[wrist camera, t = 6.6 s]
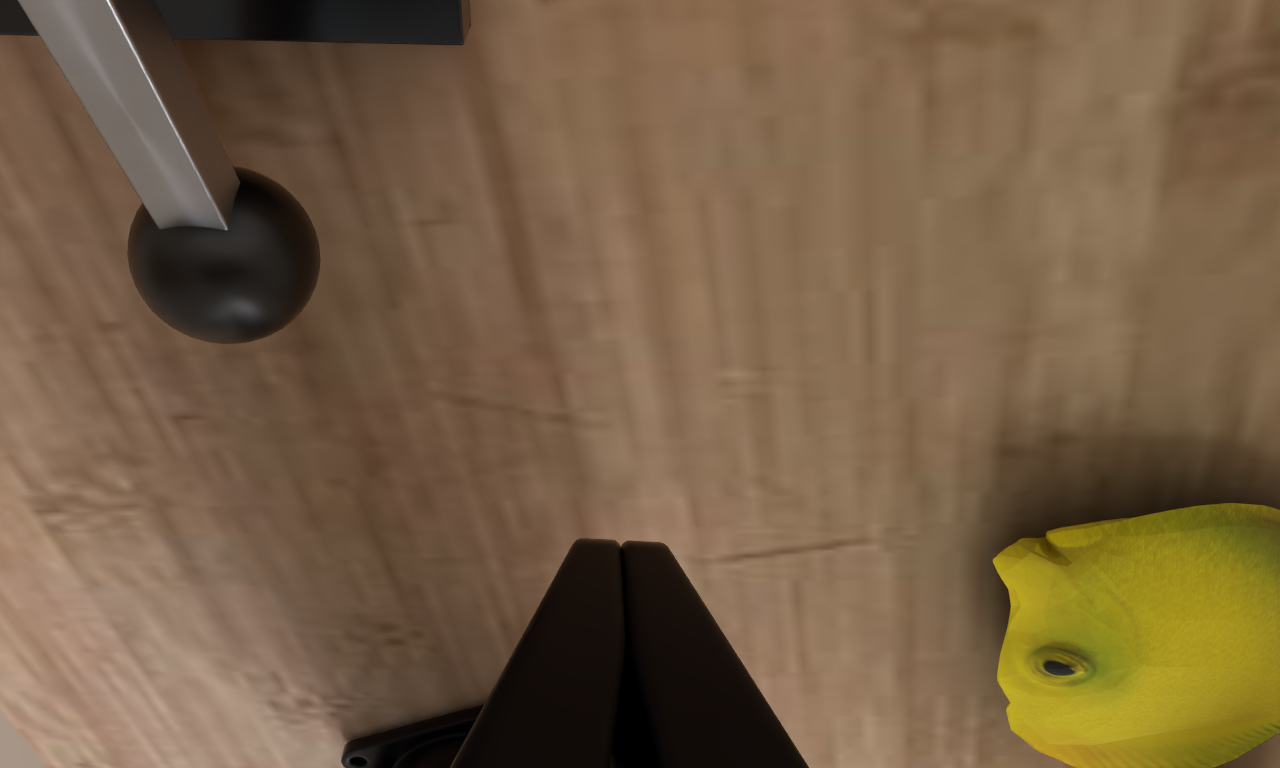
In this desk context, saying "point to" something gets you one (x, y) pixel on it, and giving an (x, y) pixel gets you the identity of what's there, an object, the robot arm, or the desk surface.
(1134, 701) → the fish
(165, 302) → the lever
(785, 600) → the desk surface
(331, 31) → the bracket
